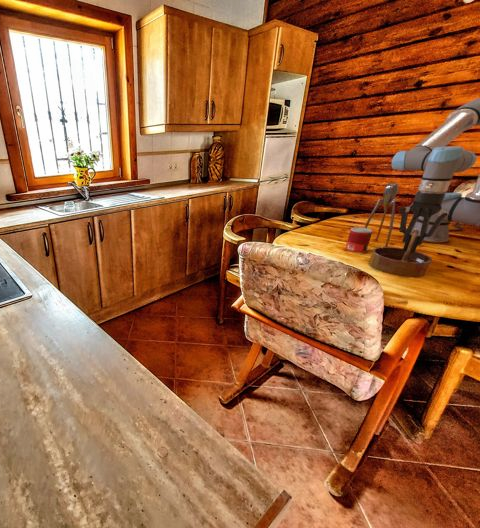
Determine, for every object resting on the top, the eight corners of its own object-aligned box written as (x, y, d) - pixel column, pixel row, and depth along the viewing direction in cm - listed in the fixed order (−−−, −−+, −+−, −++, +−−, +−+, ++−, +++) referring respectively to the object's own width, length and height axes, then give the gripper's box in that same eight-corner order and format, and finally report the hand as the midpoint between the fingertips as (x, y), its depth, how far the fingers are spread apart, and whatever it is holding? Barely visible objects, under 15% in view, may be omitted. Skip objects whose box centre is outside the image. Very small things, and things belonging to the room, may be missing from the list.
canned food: (366, 255, 128) (374, 232, 124) (345, 252, 132) (351, 230, 128) (364, 249, 134) (371, 228, 130) (344, 247, 138) (350, 226, 134)
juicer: (376, 240, 145) (396, 181, 133) (387, 247, 135) (408, 184, 123) (354, 239, 148) (371, 181, 136) (363, 246, 138) (381, 185, 126)
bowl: (377, 257, 126) (382, 244, 123) (431, 270, 112) (438, 255, 109) (360, 267, 117) (365, 253, 115) (416, 282, 103) (423, 267, 101)
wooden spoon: (398, 261, 117) (411, 227, 111) (412, 265, 113) (426, 230, 107) (394, 264, 115) (407, 229, 109) (408, 268, 111) (422, 232, 105)
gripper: (401, 191, 106) (381, 248, 116) (457, 195, 94) (431, 258, 104) (408, 188, 110) (388, 244, 119) (463, 192, 98) (437, 254, 107)
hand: (408, 251), depth 112 cm, fingers closed on wooden spoon, 2 cm apart
